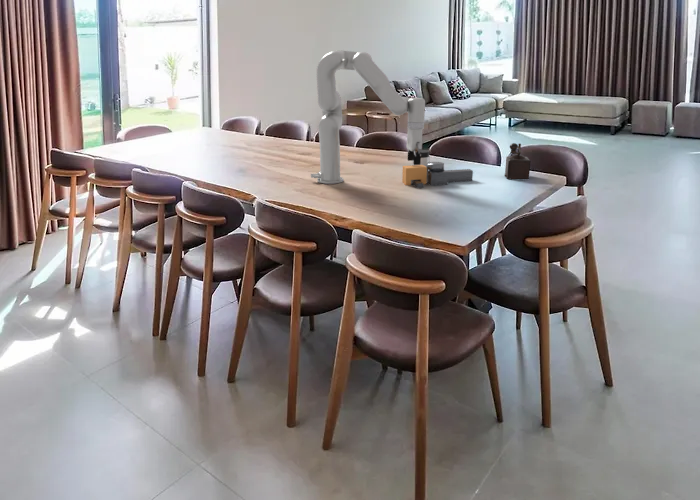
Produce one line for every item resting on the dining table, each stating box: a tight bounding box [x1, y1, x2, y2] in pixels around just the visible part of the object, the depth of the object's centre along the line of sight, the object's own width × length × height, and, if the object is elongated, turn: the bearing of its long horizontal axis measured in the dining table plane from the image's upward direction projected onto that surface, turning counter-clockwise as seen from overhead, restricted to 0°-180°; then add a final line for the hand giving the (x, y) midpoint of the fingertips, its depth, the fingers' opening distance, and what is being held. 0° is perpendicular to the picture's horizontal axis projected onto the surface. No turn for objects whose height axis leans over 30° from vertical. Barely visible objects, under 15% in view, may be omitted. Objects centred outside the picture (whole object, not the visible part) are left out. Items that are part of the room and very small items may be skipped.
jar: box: [411, 149, 431, 167], centre depth 312 cm, size 9×8×12 cm
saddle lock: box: [401, 164, 427, 186], centre depth 296 cm, size 10×6×8 cm, turn 101°
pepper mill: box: [504, 142, 531, 180], centre depth 302 cm, size 16×11×18 cm
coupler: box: [411, 161, 474, 189], centre depth 298 cm, size 30×18×9 cm, turn 101°
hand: (413, 162), depth 294 cm, fingers open, 9 cm apart
